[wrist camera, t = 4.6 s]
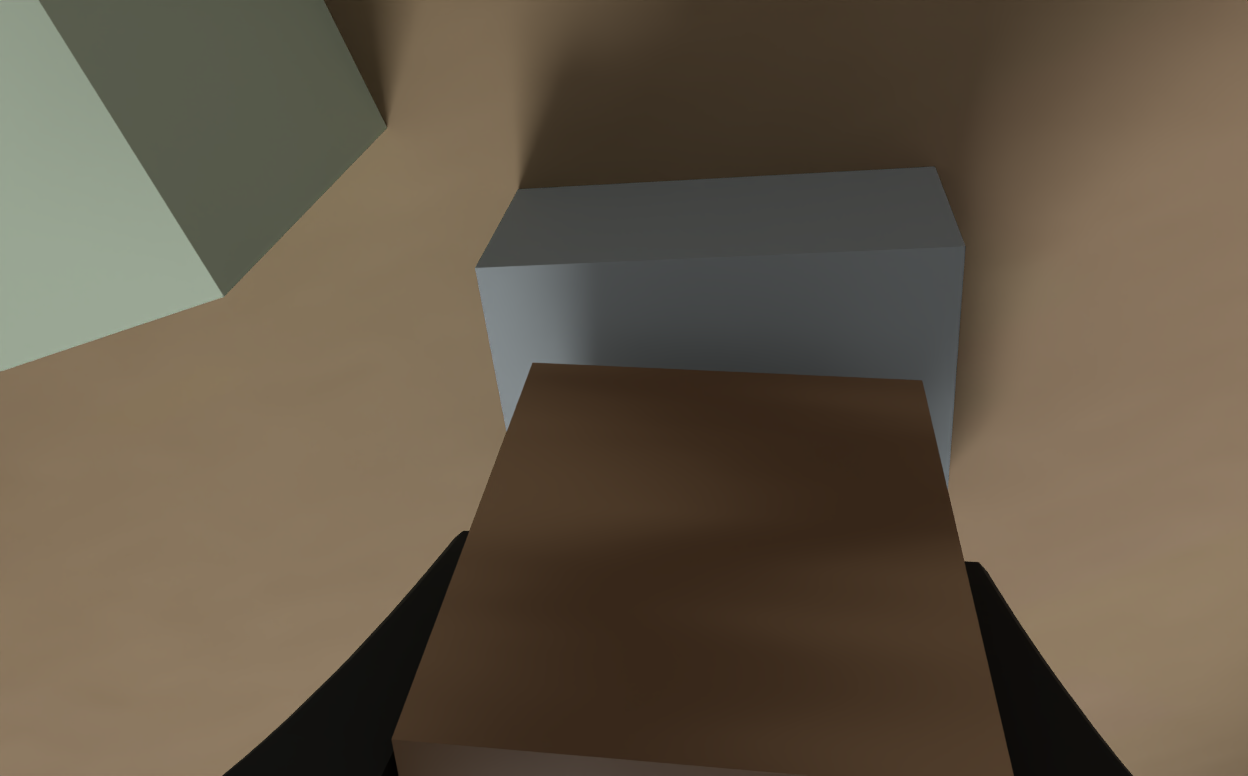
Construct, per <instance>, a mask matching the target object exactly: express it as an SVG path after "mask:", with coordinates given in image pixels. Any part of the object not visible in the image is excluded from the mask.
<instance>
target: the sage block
mask: <svg viewBox="0 0 1248 776" xmlns="http://www.w3.org/2000/svg"><path fill="white" fill-rule="evenodd" d="M386 129H387V126H386V124H385V122H384V120H383V118H382V116H381V114H380V112H379V110H378V108H377V106H376V104H375V102H374V100H373V98H372V96H371V94H370V92H369V90H368V88H367V86H366V84H365V82H364V80H363V78H362V76H361V74H360V72H359V70H358V68H357V66H356V64H355V62H354V60H353V58H352V56H351V54H350V52H349V50H348V48H347V46H346V44H345V42H344V40H343V38H342V36H341V34H340V32H339V30H338V28H337V26H336V24H335V22H334V20H333V18H332V16H331V14H330V12H329V10H328V8H327V6H326V4H325V2H324V0H0V371H3V370H6V369H9V368H12V367H15V366H18V365H21V364H24V363H27V362H30V361H33V360H36V359H39V358H42V357H45V356H48V355H51V354H54V353H57V352H60V351H63V350H66V349H69V348H72V347H75V346H78V345H81V344H84V343H87V342H90V341H93V340H96V339H99V338H102V337H105V336H108V335H111V334H114V333H117V332H120V331H123V330H126V329H129V328H132V327H135V326H138V325H141V324H144V323H147V322H150V321H153V320H156V319H159V318H162V317H165V316H168V315H171V314H174V313H177V312H180V311H183V310H186V309H189V308H192V307H195V306H198V305H201V304H204V303H207V302H210V301H213V300H216V299H219V298H222V297H224V296H225V295H226V294H227V293H228V292H229V291H230V290H231V289H232V288H233V287H234V286H235V285H236V284H237V283H238V282H239V281H240V280H241V279H242V278H243V276H244V275H245V274H246V273H247V272H248V271H249V270H250V269H251V268H252V267H253V266H254V265H255V264H256V263H257V262H258V261H259V260H260V259H261V258H262V257H263V256H264V255H265V254H266V253H267V252H268V251H269V250H270V249H271V248H272V247H273V245H274V244H275V243H276V242H277V241H278V240H279V239H280V238H281V237H282V236H283V235H284V234H285V233H286V232H287V231H288V230H289V229H290V228H291V227H292V226H293V225H294V224H295V223H296V222H297V221H298V220H299V219H300V218H301V217H302V215H303V214H304V213H305V212H306V211H307V210H308V209H309V208H310V207H311V206H312V205H313V204H314V203H315V202H316V201H317V200H318V199H319V198H320V197H321V196H322V195H323V194H324V193H325V192H326V191H327V190H328V189H329V188H330V187H331V186H332V184H333V183H334V182H335V181H336V180H337V179H338V178H339V177H340V176H341V175H342V174H343V173H344V172H345V171H346V170H347V169H348V168H349V167H350V166H351V165H352V164H353V163H354V162H355V161H356V160H357V159H358V158H359V157H360V156H361V155H362V153H363V152H364V151H365V150H366V149H367V148H368V147H369V146H370V145H371V144H372V143H373V142H374V141H375V140H376V139H377V138H378V137H379V136H380V135H381V134H382V133H383V132H384V131H385V130H386Z"/></svg>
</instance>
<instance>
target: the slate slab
mask: <svg viewBox="0 0 1248 776" xmlns="http://www.w3.org/2000/svg"><path fill="white" fill-rule="evenodd" d="M964 260H965V244H964V241H963V239H962V236H961V233H960V231H959V228H958V226H957V223H956V220H955V218H954V215H953V212H952V210H951V207H950V205H949V202H948V199H947V197H946V194H945V191H944V189H943V186H942V184H941V181H940V178H939V176H938V173H937V171H936V168H935V166H934V167H916V168H898V169H879V170H861V171H843V172H824V173H806V174H787V175H769V176H751V177H732V178H714V179H696V180H677V181H659V182H641V183H622V184H604V185H585V186H567V187H549V188H530V189H518V190H517V192H516V194H515V196H514V198H513V200H512V201H511V203H510V205H509V207H508V209H507V211H506V212H505V214H504V216H503V218H502V220H501V222H500V223H499V225H498V227H497V229H496V231H495V233H494V234H493V236H492V238H491V240H490V242H489V244H488V245H487V247H486V249H485V251H484V253H483V255H482V256H481V258H480V260H479V262H478V264H477V266H476V267H475V270H476V275H477V280H478V285H479V291H480V296H481V301H482V306H483V311H484V317H485V322H486V327H487V332H488V337H489V343H490V348H491V353H492V358H493V364H494V369H495V374H496V379H497V384H498V390H499V395H500V400H501V405H502V410H503V416H504V421H505V426H506V431H507V429H508V427H509V424H510V421H511V419H512V416H513V413H514V411H515V408H516V405H517V403H518V400H519V397H520V395H521V392H522V389H523V387H524V384H525V381H526V379H527V376H528V373H529V371H530V368H531V365H532V363H554V364H576V365H598V366H620V367H642V368H664V369H686V370H708V371H730V372H752V373H774V374H795V375H817V376H839V377H861V378H883V379H905V380H922V381H923V385H924V390H925V394H926V398H927V403H928V407H929V411H930V416H931V420H932V424H933V429H934V433H935V437H936V442H937V446H938V450H939V454H940V459H941V463H942V467H943V472H944V476H945V480H946V485H947V489H948V480H949V466H950V452H951V438H952V425H953V411H954V397H955V383H956V370H957V356H958V342H959V328H960V315H961V301H962V287H963V274H964Z"/></svg>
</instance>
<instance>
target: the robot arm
mask: <svg viewBox="0 0 1248 776" xmlns="http://www.w3.org/2000/svg"><path fill="white" fill-rule="evenodd" d="M468 534H469V531H463V532H461V533H460V534H459V535H458V536H457V537H455V538H454V539H453V541H452V542H451V543H450V544H449V545H448V547H447V548H446V549H445V550H444V551H443V553H442V554H441V555H440V556H439V557H438V559H437V560H436V561H435V562H434V563H433V565H432V566H431V567H430V568H429V569H428V571H427V572H426V573H425V574H424V575H423V576H422V578H421V579H420V580H419V581H418V582H417V584H416V585H415V586H414V587H413V588H412V589H411V590H410V592H409V593H408V594H407V595H406V596H405V597H404V598H403V600H402V601H401V602H400V603H399V604H398V605H397V606H396V608H395V609H394V610H393V611H392V612H391V613H390V614H389V616H388V617H387V618H386V619H385V620H384V621H383V622H382V623H381V624H380V625H379V626H378V627H377V628H376V630H375V631H374V632H373V633H372V634H371V635H370V636H369V637H368V638H367V639H366V640H365V641H364V643H363V644H362V645H361V646H360V647H359V648H358V649H357V650H356V651H355V652H354V653H353V654H352V655H351V657H350V658H349V659H348V660H347V661H346V662H345V663H344V664H343V665H342V666H341V667H340V668H339V669H338V670H337V671H336V672H335V673H334V674H333V675H332V676H331V677H330V678H329V679H328V680H327V681H326V682H325V683H324V684H323V685H322V686H321V687H320V688H319V689H318V690H316V691H315V692H314V693H313V694H312V695H311V696H310V697H309V698H308V699H307V700H306V701H305V702H304V703H303V704H302V705H301V706H300V707H299V708H298V709H297V710H296V711H295V712H294V713H293V714H292V715H291V716H290V717H289V718H288V719H287V720H286V721H284V722H283V723H282V724H281V725H280V726H279V727H278V728H277V729H276V730H275V731H273V732H272V733H271V734H270V735H269V736H268V737H267V738H266V739H265V740H264V741H262V742H261V743H260V744H259V745H258V746H257V747H256V748H254V749H253V750H252V751H251V752H250V753H249V754H248V755H246V756H245V757H244V758H243V759H242V760H240V761H239V762H238V763H237V764H236V765H234V766H233V767H232V768H231V769H230V770H229V771H227V772H226V773H225V774H224V775H223V776H399V775H398V770H397V765H396V760H395V755H394V750H393V745H392V740H391V739H392V736H393V734H394V731H395V728H396V726H397V723H398V720H399V718H400V715H401V712H402V710H403V707H404V704H405V702H406V699H407V696H408V694H409V691H410V688H411V686H412V683H413V680H414V678H415V675H416V672H417V670H418V667H419V664H420V662H421V659H422V656H423V654H424V651H425V648H426V646H427V643H428V640H429V638H430V635H431V632H432V630H433V627H434V624H435V622H436V619H437V616H438V614H439V611H440V608H441V606H442V603H443V600H444V598H445V595H446V592H447V590H448V587H449V584H450V582H451V579H452V576H453V574H454V571H455V568H456V566H457V563H458V560H459V558H460V555H461V552H462V550H463V547H464V544H465V542H466V539H467V536H468ZM964 563H965V567H966V571H967V576H968V580H969V584H970V588H971V593H972V597H973V601H974V606H975V610H976V614H977V619H978V623H979V627H980V632H981V636H982V640H983V645H984V649H985V653H986V658H987V662H988V666H989V671H990V675H991V679H992V684H993V688H994V692H995V697H996V701H997V705H998V710H999V714H1000V718H1001V723H1002V727H1003V731H1004V735H1005V740H1006V744H1007V748H1008V753H1009V757H1010V761H1011V766H1012V770H1013V774H1014V776H1133V775H1132V774H1131V773H1130V772H1129V770H1128V769H1127V768H1126V767H1125V766H1124V764H1123V763H1122V762H1121V761H1120V760H1119V758H1118V757H1117V756H1116V755H1115V753H1114V752H1113V751H1112V750H1111V748H1110V747H1109V746H1108V744H1107V743H1106V742H1105V741H1104V739H1103V738H1102V737H1101V736H1100V734H1099V733H1098V732H1097V731H1096V729H1095V728H1094V727H1093V725H1092V724H1091V723H1090V721H1089V720H1088V719H1087V717H1086V716H1085V714H1084V713H1083V712H1082V710H1081V709H1080V708H1079V706H1078V705H1077V704H1076V702H1075V701H1074V700H1073V698H1072V697H1071V696H1070V694H1069V693H1068V692H1067V690H1066V689H1065V688H1064V686H1063V685H1062V684H1061V682H1060V681H1059V680H1058V678H1057V677H1056V675H1055V674H1054V672H1053V671H1052V670H1051V668H1050V667H1049V665H1048V664H1047V663H1046V661H1045V660H1044V658H1043V657H1042V655H1041V654H1040V652H1039V651H1038V649H1037V648H1036V647H1035V645H1034V644H1033V642H1032V641H1031V639H1030V638H1029V636H1028V635H1027V633H1026V632H1025V630H1024V629H1023V627H1022V626H1021V624H1020V623H1019V621H1018V620H1017V618H1016V617H1015V615H1014V614H1013V612H1012V610H1011V609H1010V607H1009V606H1008V604H1007V603H1006V601H1005V600H1004V598H1003V596H1002V595H1001V593H1000V592H999V590H998V588H997V587H996V585H995V584H994V582H993V580H992V579H991V577H990V575H989V574H988V572H987V571H986V570H985V569H984V568H983V567H982V565H981V564H980V563H979V562H966V561H964Z"/></svg>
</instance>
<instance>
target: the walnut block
mask: <svg viewBox="0 0 1248 776" xmlns="http://www.w3.org/2000/svg"><path fill="white" fill-rule="evenodd" d="M391 740H392V745H393V750H394V755H395V760H396V765H397V770H398V775H399V776H1014V774H1013V770H1012V766H1011V761H1010V757H1009V753H1008V748H1007V744H1006V740H1005V735H1004V731H1003V727H1002V723H1001V718H1000V714H999V710H998V705H997V701H996V697H995V692H994V688H993V684H992V679H991V675H990V671H989V666H988V662H987V658H986V653H985V649H984V645H983V640H982V636H981V632H980V627H979V623H978V619H977V614H976V610H975V606H974V601H973V597H972V593H971V588H970V584H969V580H968V576H967V571H966V567H965V563H964V558H963V554H962V550H961V545H960V541H959V537H958V532H957V528H956V524H955V519H954V515H953V511H952V506H951V502H950V498H949V493H948V489H947V485H946V480H945V476H944V472H943V467H942V463H941V459H940V454H939V450H938V446H937V442H936V437H935V433H934V429H933V424H932V420H931V416H930V411H929V407H928V403H927V398H926V394H925V390H924V385H923V381H922V380H905V379H883V378H861V377H839V376H817V375H795V374H774V373H752V372H730V371H708V370H686V369H664V368H642V367H620V366H598V365H576V364H554V363H532V365H531V368H530V371H529V373H528V376H527V379H526V381H525V384H524V387H523V389H522V392H521V395H520V397H519V400H518V403H517V405H516V408H515V411H514V413H513V416H512V419H511V421H510V424H509V427H508V429H507V432H506V435H505V437H504V440H503V443H502V445H501V448H500V451H499V453H498V456H497V459H496V461H495V464H494V467H493V469H492V472H491V475H490V477H489V480H488V483H487V485H486V488H485V491H484V493H483V496H482V499H481V501H480V504H479V507H478V509H477V512H476V515H475V517H474V520H473V523H472V525H471V528H470V531H469V534H468V536H467V539H466V542H465V544H464V547H463V550H462V552H461V555H460V558H459V560H458V563H457V566H456V568H455V571H454V574H453V576H452V579H451V582H450V584H449V587H448V590H447V592H446V595H445V598H444V600H443V603H442V606H441V608H440V611H439V614H438V616H437V619H436V622H435V624H434V627H433V630H432V632H431V635H430V638H429V640H428V643H427V646H426V648H425V651H424V654H423V656H422V659H421V662H420V664H419V667H418V670H417V672H416V675H415V678H414V680H413V683H412V686H411V688H410V691H409V694H408V696H407V699H406V702H405V704H404V707H403V710H402V712H401V715H400V718H399V720H398V723H397V726H396V728H395V731H394V734H393V736H392V739H391Z"/></svg>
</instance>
